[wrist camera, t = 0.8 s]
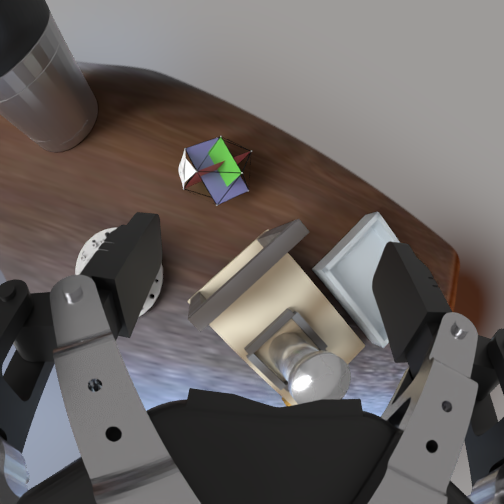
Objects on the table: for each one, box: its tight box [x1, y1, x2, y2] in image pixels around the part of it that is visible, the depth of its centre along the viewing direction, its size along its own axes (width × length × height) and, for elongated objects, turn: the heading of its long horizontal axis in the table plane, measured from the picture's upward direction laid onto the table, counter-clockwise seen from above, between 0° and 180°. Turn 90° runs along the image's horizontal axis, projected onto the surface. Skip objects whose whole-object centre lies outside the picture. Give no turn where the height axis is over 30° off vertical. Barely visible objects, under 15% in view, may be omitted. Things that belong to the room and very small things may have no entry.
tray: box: [312, 212, 400, 348], centre depth 35 cm, size 13×10×3 cm
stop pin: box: [269, 333, 351, 404], centre depth 27 cm, size 5×5×10 cm
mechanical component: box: [76, 228, 163, 316], centre depth 29 cm, size 10×4×10 cm
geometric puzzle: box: [178, 136, 252, 206], centre depth 30 cm, size 7×7×8 cm
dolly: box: [188, 219, 365, 406], centre depth 28 cm, size 20×12×13 cm, turn 42°
